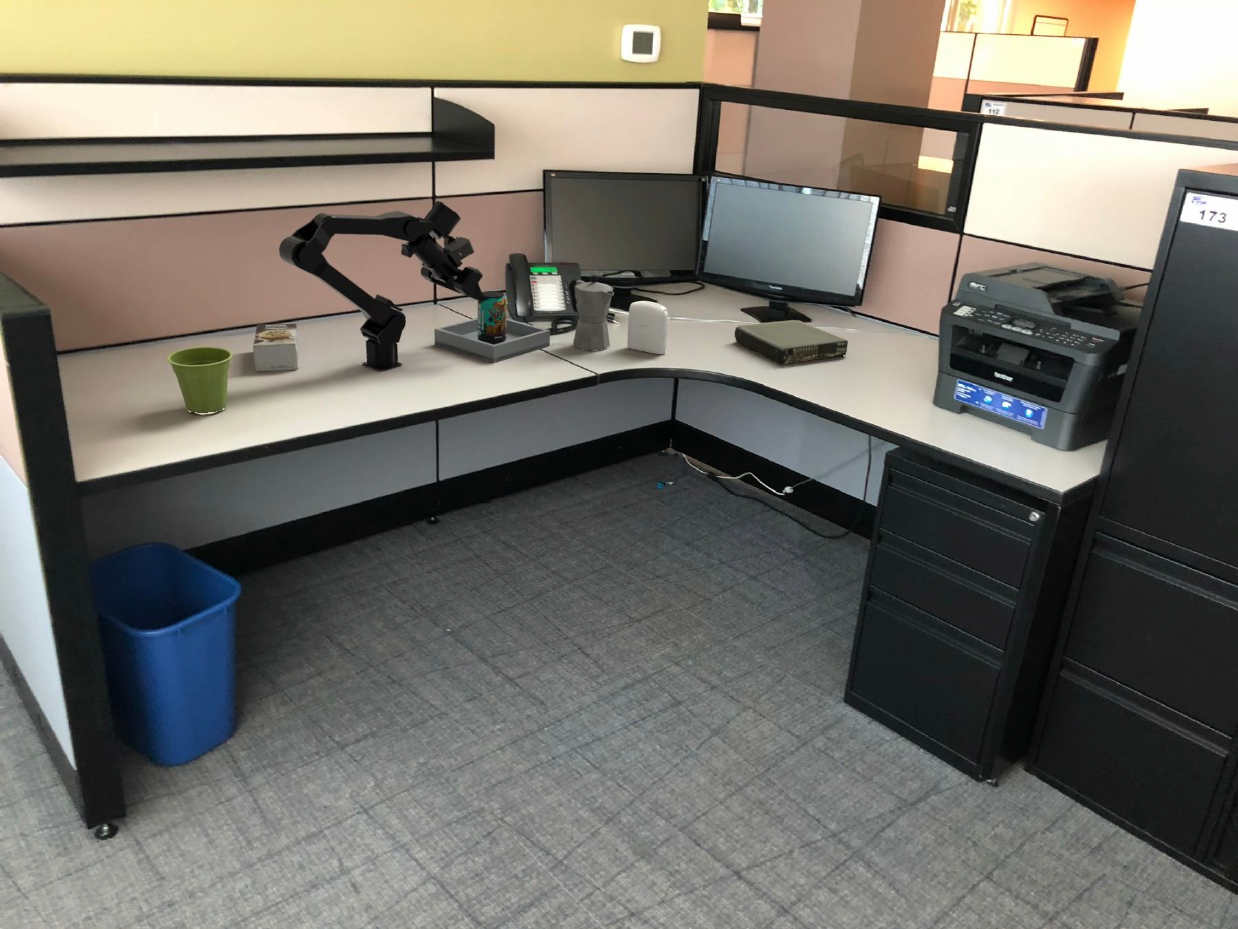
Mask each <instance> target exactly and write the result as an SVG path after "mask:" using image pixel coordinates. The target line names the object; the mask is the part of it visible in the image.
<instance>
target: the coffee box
mask: <svg viewBox="0 0 1238 929" xmlns="http://www.w3.org/2000/svg"><path fill="white" fill-rule="evenodd" d="M252 345H253V346H252V350H253V357H254V358H253V359H254V367H255V371H256V372H273V371H275V372H276V371H277V370H278V371H295V370H296V371H297V370H298V369H299V366H298V365H299V350H300V349H299V347H300V346H299V335H298V326H297V323H266V324H262V323H261V324H260V323H259V324H258V323H257V324H256V330H255V335H254V340H253V344H252Z"/></svg>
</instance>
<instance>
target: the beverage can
mask: <svg viewBox="0 0 1238 929" xmlns="http://www.w3.org/2000/svg"><path fill="white" fill-rule="evenodd" d="M482 294H483V296H484V298H485V299H484V301H483V302H480V301H478V300H477V318H478V340H479V341H483V342H486V343H489V344H493V345H495V344H498V343H502V342H504V341H505V340H506V321H507V319H508V317H507V316H508V314H507V305H508V304H507V303H508V302H507V299H506V298H505V293H504V292H502V291H496V290H485V291H482Z"/></svg>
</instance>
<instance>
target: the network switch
mask: <svg viewBox="0 0 1238 929" xmlns="http://www.w3.org/2000/svg"><path fill="white" fill-rule="evenodd" d="M734 339H735V342H736V343H737V344H739V345H740V344H741V345H740V346H742V345H743V346H742V347H744V346H745V347H744V348H746V347H747V348H746V349H749V350H750V349H751V351H752V350H753V352H754V351H755V352H754V353H757V354H758V355H760V354H761V355H760V356H762V355H763V356H762V357H764V358H766V359H767V358H768V360H770V361H771V360H772V361H771V362H773V361H774V362H773V363H775V362H776V363H775V364H777V363H778V365H779V366H784V365H788V364H790V363H793V362H794V363H798V362H799V361H800V362H808V361H813V360H816V359H817V361H819V360H820V359H825V358H831V357H839V356H842V355H845V356H847V355H846V354H847V352H848V343H849V340H847V339H845V338H842V337H839V336H837V335H836V334H835V335H834V334H832V333H830V332H827V331H825V330H823V329H821V328H818V327H817V326H816V327H815V326H813V325H810V324H808V323H805V322H803V321H801V320H794V319H791V320H782V321H771V322H769V321H768V322H763V323H751V324H742V325H737V326H736V327H735V330H734ZM818 359H819V360H818Z"/></svg>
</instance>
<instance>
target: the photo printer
mask: <svg viewBox="0 0 1238 929" xmlns="http://www.w3.org/2000/svg"><path fill="white" fill-rule="evenodd" d="M627 323H628V325H627V345H626V346H627V349H630V348H631V350H635V349H636V351H640V352H644V351H645V352H644V353H649V354H650V353H651V354H654V355H655V354H656V355H660V354H661V355H663V354H662V353H664V354H665V353H666V351H667V343H668V339H667V338H668V324H669V310H668V308H666V307H665V306H664V305H662V304H659V303H657V302H652V301H649V300H648V301H647V300H640V301H635V302H632V303H631V304H630V306H629V310H628V322H627Z"/></svg>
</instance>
